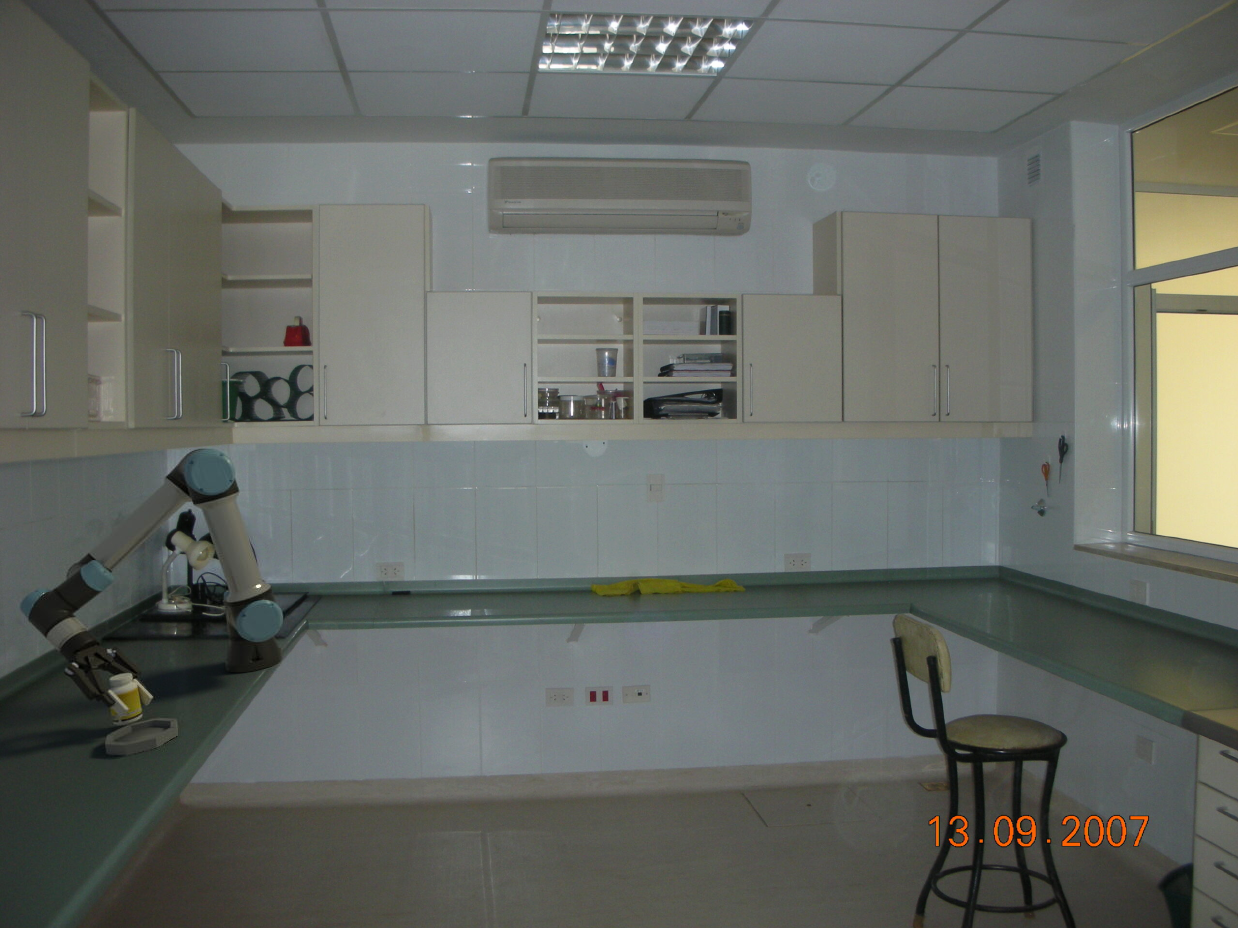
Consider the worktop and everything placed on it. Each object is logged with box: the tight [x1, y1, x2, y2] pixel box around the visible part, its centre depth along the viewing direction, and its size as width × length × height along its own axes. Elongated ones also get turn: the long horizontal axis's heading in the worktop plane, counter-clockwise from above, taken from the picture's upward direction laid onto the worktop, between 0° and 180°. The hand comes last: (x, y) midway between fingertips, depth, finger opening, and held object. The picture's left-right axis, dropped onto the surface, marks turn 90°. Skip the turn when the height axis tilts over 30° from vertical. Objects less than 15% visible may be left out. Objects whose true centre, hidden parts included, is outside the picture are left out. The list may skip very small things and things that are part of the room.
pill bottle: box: [107, 673, 143, 726], centre depth 195 cm, size 6×6×11 cm
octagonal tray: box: [104, 717, 179, 757], centre depth 187 cm, size 14×14×2 cm
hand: (137, 706), depth 194 cm, fingers closed on pill bottle, 6 cm apart
